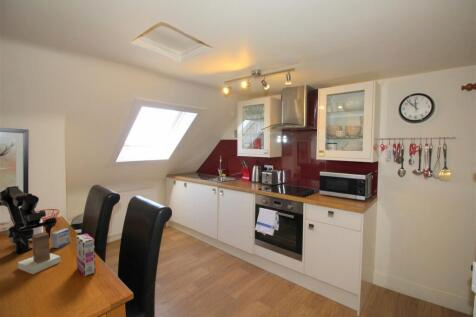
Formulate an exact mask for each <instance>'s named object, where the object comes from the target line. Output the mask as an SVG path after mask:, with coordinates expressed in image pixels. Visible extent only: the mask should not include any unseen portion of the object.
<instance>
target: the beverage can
mask: <svg viewBox="0 0 476 317" xmlns="http://www.w3.org/2000/svg"><path fill="white" fill-rule="evenodd" d="M42 222H43V218H42V219H41V221H40V223H42ZM33 230H34V232H33V235H34V234H38V233H42V232H44V226H42V227H38V228H34V229H33ZM29 241H30V242H32V239H29Z"/></svg>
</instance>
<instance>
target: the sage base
mask: <svg viewBox="0 0 476 317" xmlns="http://www.w3.org/2000/svg"><path fill="white" fill-rule="evenodd" d="M61 261H62V260H61V255H58V254H55V253H52V252H51V253H50V260H47V261H44V262H41V263H39V264H37V263H36V262H34V260H33V256H31V257H29V258H25V259H23V260H20V261H18V262H17V269H19V270H21V271H24V272H26V273H29V274H31V275H34V274H37V273H39V272H41V271H43V270H45V269H48V268H51V267H53V266H54V265H56V264H60V263H61Z"/></svg>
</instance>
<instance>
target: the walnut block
mask: <svg viewBox="0 0 476 317" xmlns="http://www.w3.org/2000/svg"><path fill="white" fill-rule="evenodd" d="M31 242H32V244H31V245H32V257H33V260H34V262H36V263H37V264H39V263H41V262H44V261H47V260H50V252H51V251H50V238H49V234H48V233H46V231H43V232H42V233H38V234H34V235H32V241H31Z"/></svg>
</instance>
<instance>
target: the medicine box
mask: <svg viewBox="0 0 476 317" xmlns="http://www.w3.org/2000/svg"><path fill="white" fill-rule="evenodd" d="M70 238H71V236H70V228H62V229H59V230H56V231H54V232H52V233H51V234H50V239H51V248H53V249H60V248H62V247H64V246H66V245H68V244H70V243H71V239H70Z"/></svg>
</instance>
